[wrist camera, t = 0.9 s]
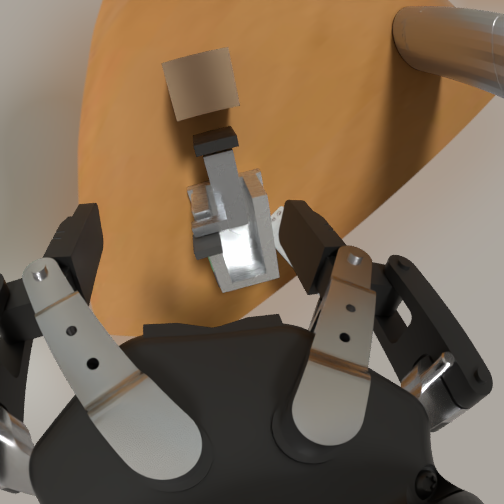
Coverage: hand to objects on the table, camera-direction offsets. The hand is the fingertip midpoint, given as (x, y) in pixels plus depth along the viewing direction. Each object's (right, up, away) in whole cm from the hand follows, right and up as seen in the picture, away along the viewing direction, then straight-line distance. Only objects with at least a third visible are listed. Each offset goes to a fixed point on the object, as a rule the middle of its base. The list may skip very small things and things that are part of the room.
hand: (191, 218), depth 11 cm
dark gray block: (-2, 0, +14) cm, 14 cm away
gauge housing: (0, +3, +21) cm, 21 cm away
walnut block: (-3, +15, +11) cm, 19 cm away
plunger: (-1, +6, +16) cm, 17 cm away
